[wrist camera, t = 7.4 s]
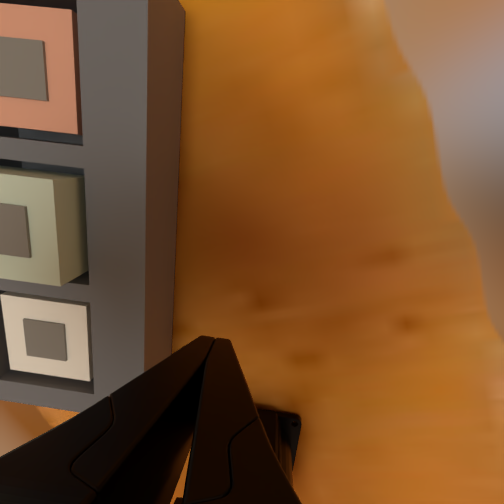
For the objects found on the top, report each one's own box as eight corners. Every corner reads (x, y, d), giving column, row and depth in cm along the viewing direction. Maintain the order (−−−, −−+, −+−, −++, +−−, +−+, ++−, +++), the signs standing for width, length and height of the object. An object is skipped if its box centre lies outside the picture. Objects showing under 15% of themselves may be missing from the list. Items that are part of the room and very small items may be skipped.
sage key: (95, 266, 18) (58, 287, 15) (11, 254, 18) (-42, 274, 15) (92, 176, 16) (50, 180, 13) (1, 165, 17) (-61, 166, 14)
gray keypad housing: (170, 369, 24) (143, 422, 19) (18, 346, 24) (-46, 392, 19) (185, 11, 17) (148, -48, 12) (-25, -9, 17) (-140, -73, 13)
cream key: (114, 352, 22) (88, 383, 19) (45, 341, 22) (8, 370, 19) (113, 285, 20) (84, 307, 17) (39, 275, 20) (-3, 295, 17)
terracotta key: (110, 138, 18) (75, 134, 15) (25, 128, 18) (-26, 122, 15) (108, 36, 16) (69, 8, 13) (15, 27, 16) (-44, -3, 13)
